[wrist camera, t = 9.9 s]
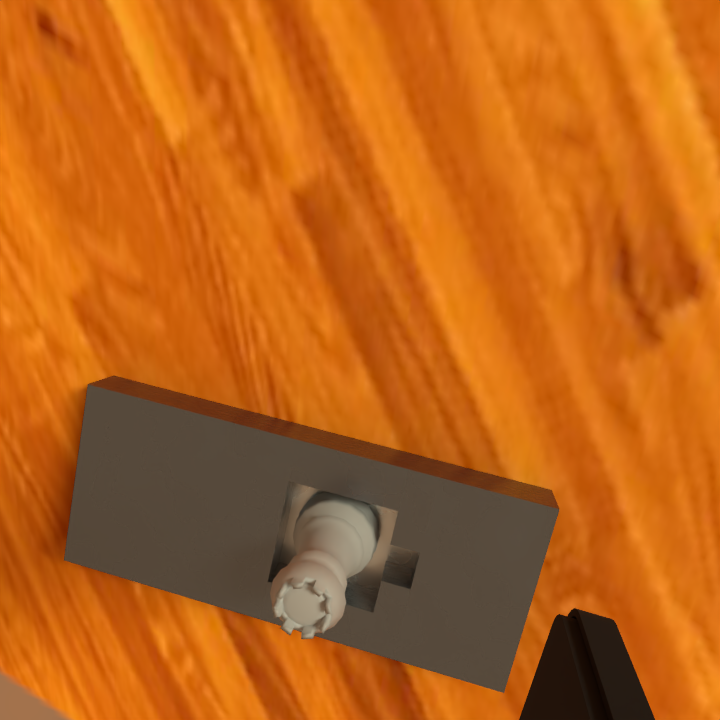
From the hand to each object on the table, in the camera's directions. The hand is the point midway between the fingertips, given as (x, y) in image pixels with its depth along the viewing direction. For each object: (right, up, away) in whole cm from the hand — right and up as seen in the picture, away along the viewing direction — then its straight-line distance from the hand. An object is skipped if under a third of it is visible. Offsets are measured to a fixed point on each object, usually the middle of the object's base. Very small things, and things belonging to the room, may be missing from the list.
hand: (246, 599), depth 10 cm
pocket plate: (-1, -5, +24) cm, 24 cm away
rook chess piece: (+1, -5, +23) cm, 24 cm away
